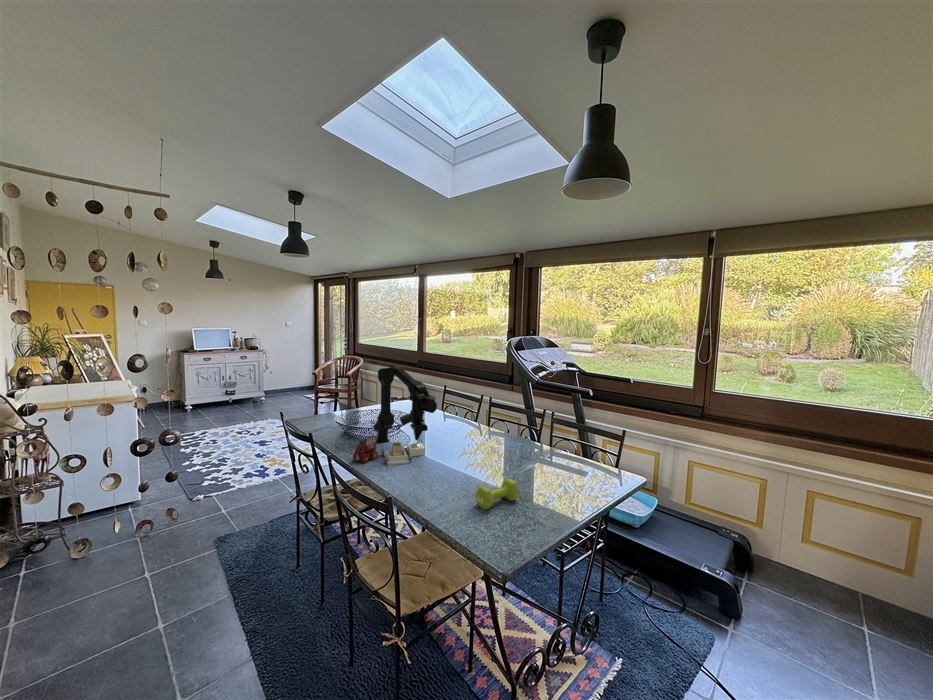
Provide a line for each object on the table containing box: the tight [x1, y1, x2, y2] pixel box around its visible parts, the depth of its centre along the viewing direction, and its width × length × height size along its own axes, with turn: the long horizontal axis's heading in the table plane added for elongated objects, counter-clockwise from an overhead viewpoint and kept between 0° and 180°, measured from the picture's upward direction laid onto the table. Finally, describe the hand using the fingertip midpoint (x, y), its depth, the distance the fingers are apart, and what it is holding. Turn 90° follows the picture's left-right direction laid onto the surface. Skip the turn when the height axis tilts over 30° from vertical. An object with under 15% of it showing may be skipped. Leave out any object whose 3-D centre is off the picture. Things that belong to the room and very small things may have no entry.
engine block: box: [391, 441, 403, 456], centre depth 167 cm, size 4×4×7 cm
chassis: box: [381, 447, 413, 466], centre depth 168 cm, size 14×12×3 cm
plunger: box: [411, 442, 420, 448], centre depth 176 cm, size 4×4×4 cm
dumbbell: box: [475, 478, 520, 510], centre depth 131 cm, size 16×8×7 cm, turn 125°
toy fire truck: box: [352, 435, 379, 464], centre depth 164 cm, size 7×12×10 cm, turn 147°
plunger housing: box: [406, 442, 426, 457], centre depth 176 cm, size 7×7×4 cm
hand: (416, 439), depth 176 cm, fingers closed
